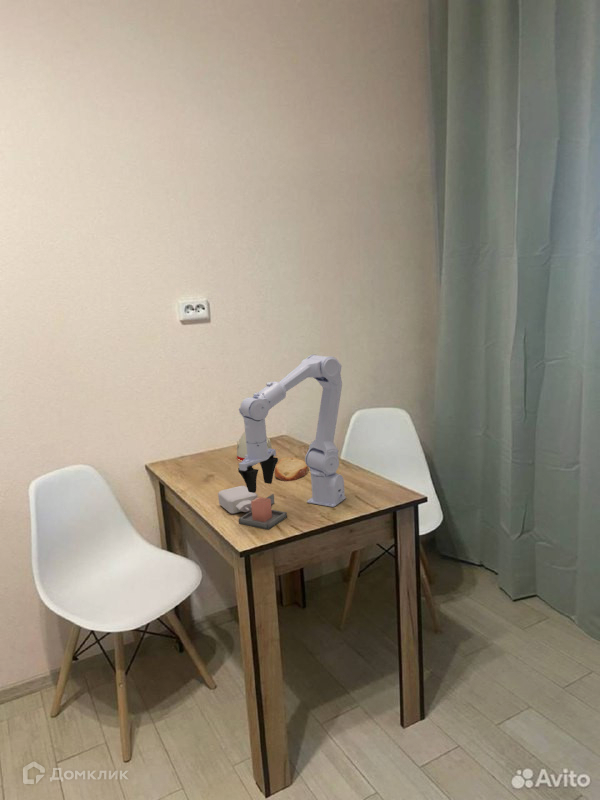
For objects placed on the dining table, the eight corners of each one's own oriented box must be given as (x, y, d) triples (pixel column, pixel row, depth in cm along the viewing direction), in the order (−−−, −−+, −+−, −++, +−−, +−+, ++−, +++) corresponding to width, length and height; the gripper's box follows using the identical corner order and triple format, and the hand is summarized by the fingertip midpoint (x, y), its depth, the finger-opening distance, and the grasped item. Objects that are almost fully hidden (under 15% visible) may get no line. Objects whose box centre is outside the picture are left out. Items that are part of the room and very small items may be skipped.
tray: (287, 517, 166) (286, 512, 166) (268, 529, 159) (268, 524, 158) (258, 511, 172) (257, 507, 171) (239, 523, 164) (238, 518, 164)
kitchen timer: (234, 463, 220) (231, 424, 217) (239, 452, 234) (236, 416, 231) (271, 461, 219) (268, 422, 216) (274, 450, 233) (271, 414, 230)
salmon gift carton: (272, 517, 166) (270, 498, 164) (264, 521, 163) (263, 503, 161) (260, 514, 168) (258, 496, 167) (252, 519, 165) (251, 501, 164)
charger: (237, 521, 165) (219, 505, 179) (266, 513, 170) (247, 498, 183) (235, 505, 165) (217, 491, 178) (265, 498, 169) (245, 484, 182)
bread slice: (289, 461, 219) (289, 451, 219) (325, 469, 207) (324, 459, 206) (253, 474, 207) (252, 464, 206) (288, 484, 195) (287, 473, 194)
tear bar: (274, 503, 177) (273, 494, 177) (262, 510, 172) (262, 500, 172) (271, 502, 178) (270, 493, 177) (259, 509, 173) (258, 500, 173)
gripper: (260, 432, 169) (264, 477, 171) (228, 446, 157) (233, 494, 159) (280, 434, 165) (283, 480, 168) (249, 449, 153) (253, 497, 156)
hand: (260, 487), depth 163 cm, fingers open, 7 cm apart
